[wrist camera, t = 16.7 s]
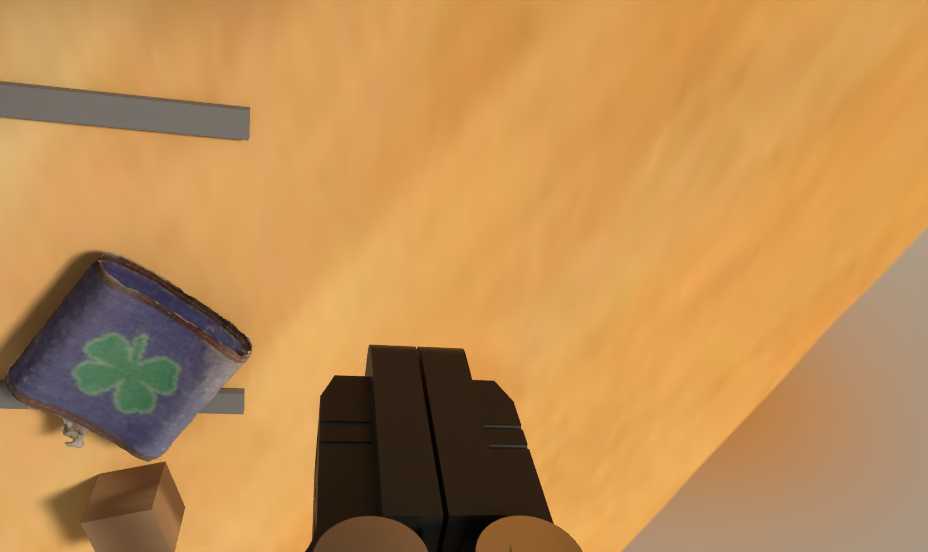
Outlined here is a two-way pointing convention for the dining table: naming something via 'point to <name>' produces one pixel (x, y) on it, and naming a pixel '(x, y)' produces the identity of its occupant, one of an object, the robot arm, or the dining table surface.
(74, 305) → the flask
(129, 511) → the walnut cube
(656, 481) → the dining table surface
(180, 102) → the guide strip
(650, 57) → the dining table surface
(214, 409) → the guide strip
